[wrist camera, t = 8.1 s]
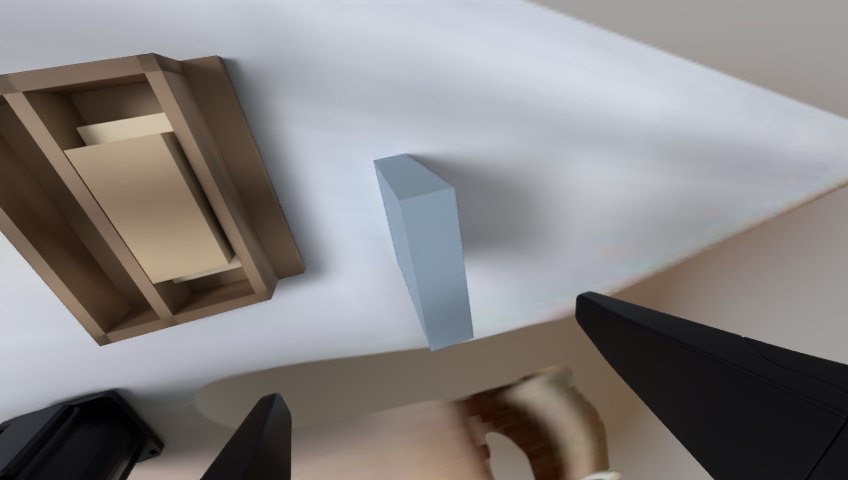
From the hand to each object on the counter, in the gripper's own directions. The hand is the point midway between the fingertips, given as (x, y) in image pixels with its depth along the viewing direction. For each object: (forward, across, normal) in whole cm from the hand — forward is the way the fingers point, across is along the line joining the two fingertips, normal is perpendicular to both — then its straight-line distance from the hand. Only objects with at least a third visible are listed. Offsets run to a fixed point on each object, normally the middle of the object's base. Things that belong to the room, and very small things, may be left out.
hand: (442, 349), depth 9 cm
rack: (+12, +11, -4) cm, 17 cm away
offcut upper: (+10, +10, -4) cm, 15 cm away
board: (+12, -1, 0) cm, 12 cm away
